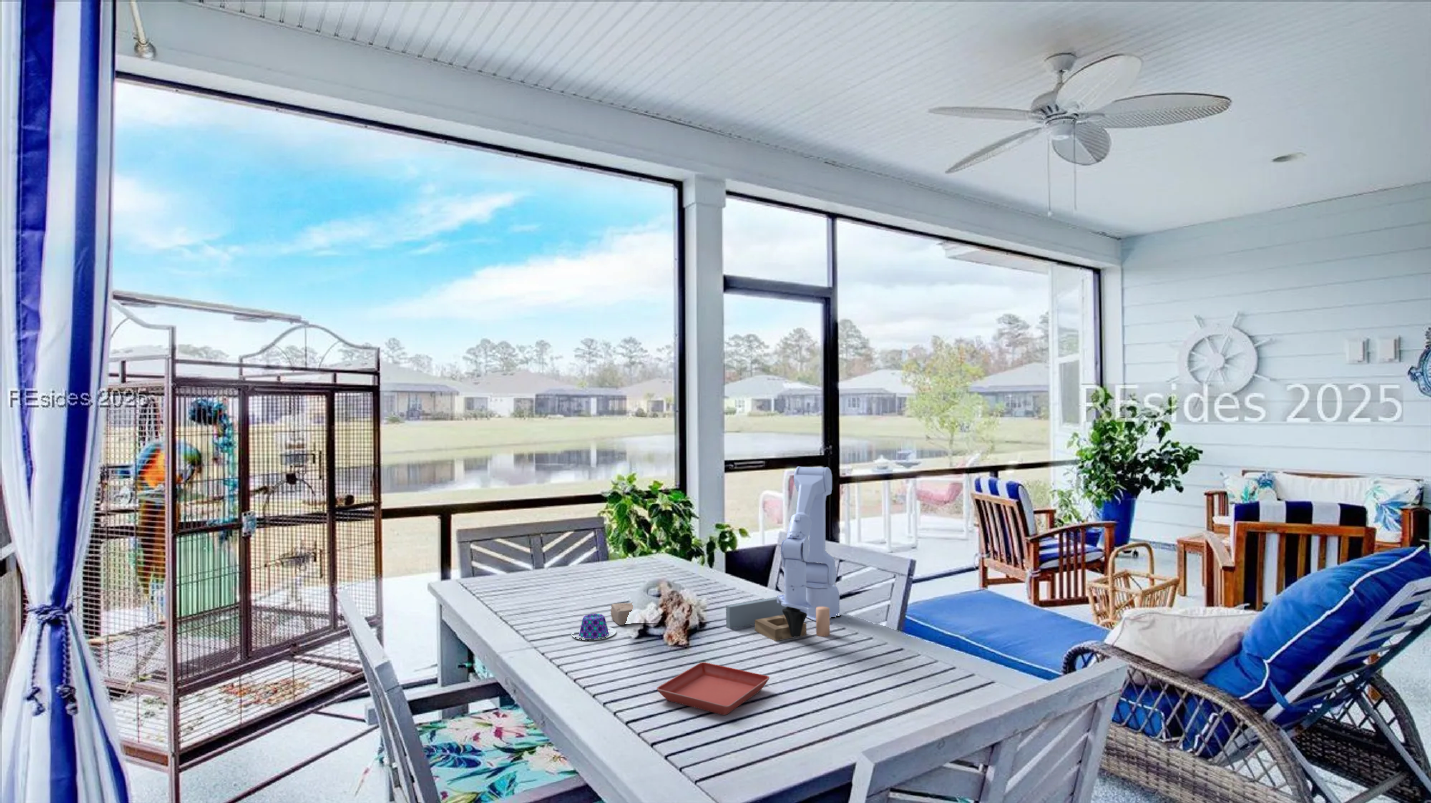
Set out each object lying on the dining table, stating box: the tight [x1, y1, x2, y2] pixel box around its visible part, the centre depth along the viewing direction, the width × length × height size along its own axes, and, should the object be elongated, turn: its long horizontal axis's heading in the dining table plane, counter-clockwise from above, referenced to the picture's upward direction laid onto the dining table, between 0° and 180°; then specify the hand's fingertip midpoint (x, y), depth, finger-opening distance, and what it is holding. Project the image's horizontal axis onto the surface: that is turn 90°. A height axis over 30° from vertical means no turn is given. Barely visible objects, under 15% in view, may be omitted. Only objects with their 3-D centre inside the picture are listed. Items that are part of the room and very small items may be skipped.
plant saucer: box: [656, 661, 771, 716], centre depth 158 cm, size 18×18×3 cm
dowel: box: [815, 607, 831, 638], centre depth 198 cm, size 4×4×7 cm
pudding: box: [571, 613, 617, 641], centre depth 200 cm, size 12×12×5 cm
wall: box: [725, 596, 786, 630], centre depth 209 cm, size 20×2×6 cm, turn 119°
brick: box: [610, 602, 633, 626], centre depth 214 cm, size 17×8×5 cm, turn 115°
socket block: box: [754, 615, 807, 642], centre depth 200 cm, size 10×10×3 cm
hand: (795, 636), depth 193 cm, fingers closed
